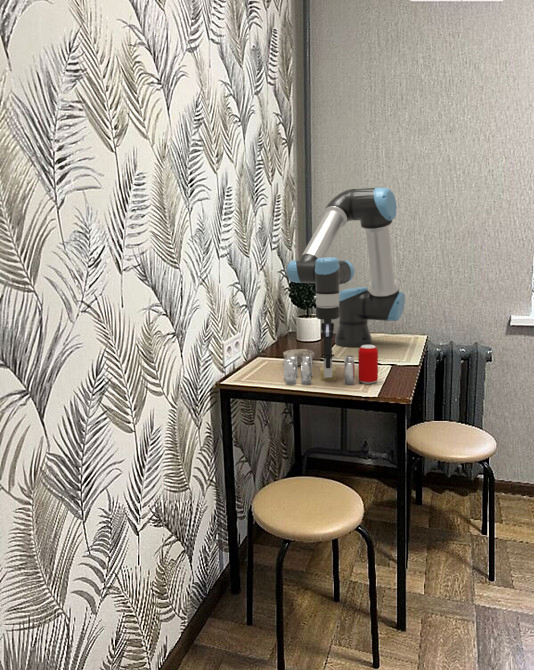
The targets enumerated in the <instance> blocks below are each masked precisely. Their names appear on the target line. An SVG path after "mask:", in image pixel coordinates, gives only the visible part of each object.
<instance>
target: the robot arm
mask: <svg viewBox="0 0 534 670" xmlns="http://www.w3.org/2000/svg"><path fill="white" fill-rule="evenodd" d="M397 208H398V207H397V201H396V197H395V194H394V193H393V191H392V190H391V189H390V188H387V187H378V186H377V187H369V188H368V187H367V188H366V187H365V188H363V187H362V188H349V189H346V190H344V191H342V192H340V193H338V194H337V195H336V196H334V198H332V199H331V200H330V201H329V203H328V204H327V205H326V206H325V207H324V209H323V211H322V218H321V220H320V222H319V224H318V226H317V228H316V229H315V231H314V232H313V235H312V237H311V238H310V240H309V242H308V243H307V245H306V247H305V249H304V251H303V252H302V255H301V256H300V258H299V259H298V260H297V259H296V260H291V261H290V262H289V263H288V264H287V267H286V268H287V269H286V275H287V278H288V280H289V281H290V282H292V283H299V284H315V295H314V296H313V299H314V300H315V305H316V307H315V317H316V319H318V320H323V322H322V323H321V331H322V332H321V335H322V336H321V337H322V339H323V355H322V356H321V359H323V367H324V377H332V367H333V358H334V357H335V354H333V343H332V342H333V340H332V339H333V337H334V330H335V328H334V327H335V323H334V322H332V320H337V319H338V321H339V322H338V324H339V325H338V329H337V331H336V334H335V339H334V343H335V345H337V346H340V347H346V348H347V347H348V348H349V347H350V348H358V347H359V348H360V347H361V346H362V345H373V341H372V335H371V332H370V328H369V325H368V321H384V322H385V321H386V322H397V321H398V320H399V321H400V319H401V317H402V315H403V312H404V309H405V301H406V297H405V296H406V295H405V293H404V292H402V291H400V289H399V285H397V284H396V283H395V277H394V269H393V258H392V247H391V238H390V226H391V225H392V223H393V220H394V219H395V218H396V216H397ZM350 221H359V222H360V226H361V229H363V230H365V236H366V243H367V245H366V247H367V252H368V253H367V254H368V262H369V270H370V278H371V286H370V288H368V287H366V286H359V287H352V288H346V289H342V290H341V291H340V285H343V284H346V283H349V282H350V281H351V280H352V279H353V278H354V275H355V267H354V265H353V264H352V263H351V262H350V261H349V260H345V259H344V260H339V258H337V257H333V256H332V257H329V256H328V257H326V256H327V255H328V253H329V250H330V249H331V247H332V245H333V244H334V241H335V240H336V237H337V236H338V234H339V231H340V229H341V228H343V227H345V226H346V224H347V222H350Z"/></svg>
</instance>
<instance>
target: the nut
mask: <svg viewBox="0 0 534 670" xmlns="http://www.w3.org/2000/svg"><path fill="white" fill-rule="evenodd" d="M336 370H337V369H336V366H333V365H332V377H324V366H320V368H319V374H320V375H319V378H320V379H319V381H336V379H337V377H336V376H337V375H336V374H337V373H336Z"/></svg>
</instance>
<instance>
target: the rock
mask: <svg viewBox="0 0 534 670" xmlns="http://www.w3.org/2000/svg"><path fill="white" fill-rule="evenodd" d="M282 353H283V358H284V359H288V356H297V365H298V366H301V362H303V356H312V360H313V359H314V357H315V352H314V351H313V350H309V349H308V348H299V349H289V350H285V351H283V352H282ZM284 359H283V360H284Z"/></svg>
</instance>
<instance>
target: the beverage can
mask: <svg viewBox="0 0 534 670" xmlns="http://www.w3.org/2000/svg"><path fill="white" fill-rule="evenodd" d="M357 358H358V369H357V370H358V376H357V377H358V381H359V382H360V383H362V384H366V385H370V384H374V383H375V382H377V381H378V380H379V378H378V377H379V375H378V374H379V350H378V348H377V346H375V345H373V344H370V345H362V346H361V347H359V349H358V357H357Z"/></svg>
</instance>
